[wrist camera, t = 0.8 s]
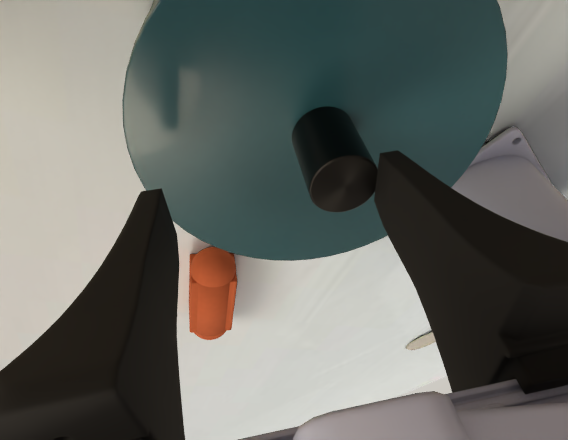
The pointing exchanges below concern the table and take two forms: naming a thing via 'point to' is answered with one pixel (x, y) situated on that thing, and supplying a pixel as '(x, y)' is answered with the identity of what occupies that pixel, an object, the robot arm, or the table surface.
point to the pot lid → (305, 111)
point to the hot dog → (211, 292)
